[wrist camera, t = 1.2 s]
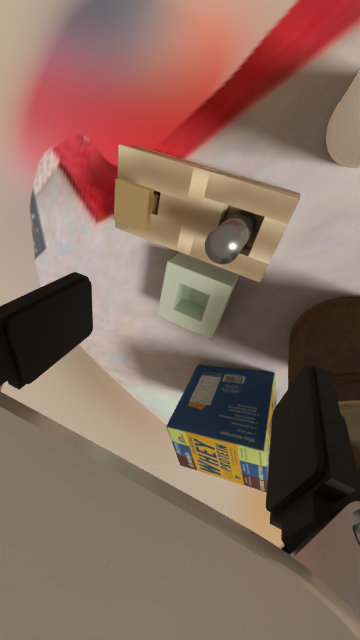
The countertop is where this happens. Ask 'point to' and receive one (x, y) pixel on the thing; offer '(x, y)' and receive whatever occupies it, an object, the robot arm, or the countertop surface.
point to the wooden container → (332, 356)
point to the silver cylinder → (230, 237)
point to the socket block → (206, 207)
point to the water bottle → (346, 128)
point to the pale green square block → (195, 294)
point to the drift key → (134, 203)
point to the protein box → (226, 424)
